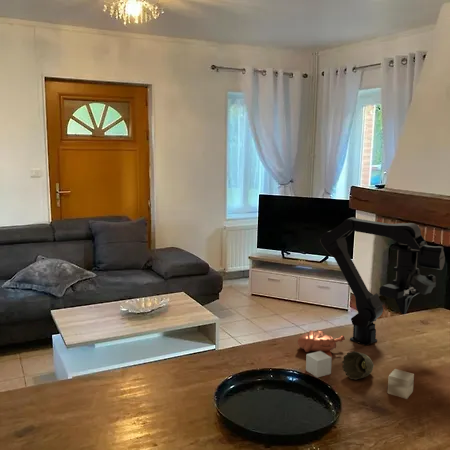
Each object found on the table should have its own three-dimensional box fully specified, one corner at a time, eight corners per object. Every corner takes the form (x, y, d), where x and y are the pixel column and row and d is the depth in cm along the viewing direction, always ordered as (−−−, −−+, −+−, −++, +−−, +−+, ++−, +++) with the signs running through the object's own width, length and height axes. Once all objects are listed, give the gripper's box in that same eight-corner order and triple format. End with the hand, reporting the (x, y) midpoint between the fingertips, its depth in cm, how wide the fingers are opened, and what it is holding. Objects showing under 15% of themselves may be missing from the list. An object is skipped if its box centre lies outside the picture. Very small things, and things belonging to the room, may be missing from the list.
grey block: (305, 370, 143) (306, 354, 142) (319, 367, 145) (320, 350, 144) (316, 377, 138) (317, 361, 137) (330, 374, 140) (331, 357, 140)
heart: (307, 340, 148) (351, 336, 153) (289, 329, 160) (331, 325, 164) (306, 360, 149) (350, 355, 153) (289, 347, 160) (331, 343, 165)
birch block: (387, 393, 130) (388, 375, 129) (393, 386, 134) (395, 368, 133) (406, 399, 127) (408, 381, 126) (412, 391, 131) (414, 373, 130)
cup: (360, 380, 143) (345, 381, 137) (354, 354, 145) (339, 354, 140) (383, 376, 138) (368, 376, 133) (376, 349, 141) (361, 349, 135)
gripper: (413, 275, 140) (410, 328, 142) (447, 265, 151) (444, 314, 154) (379, 267, 149) (377, 317, 151) (414, 258, 160) (411, 305, 163)
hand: (403, 313), depth 154 cm, fingers closed
